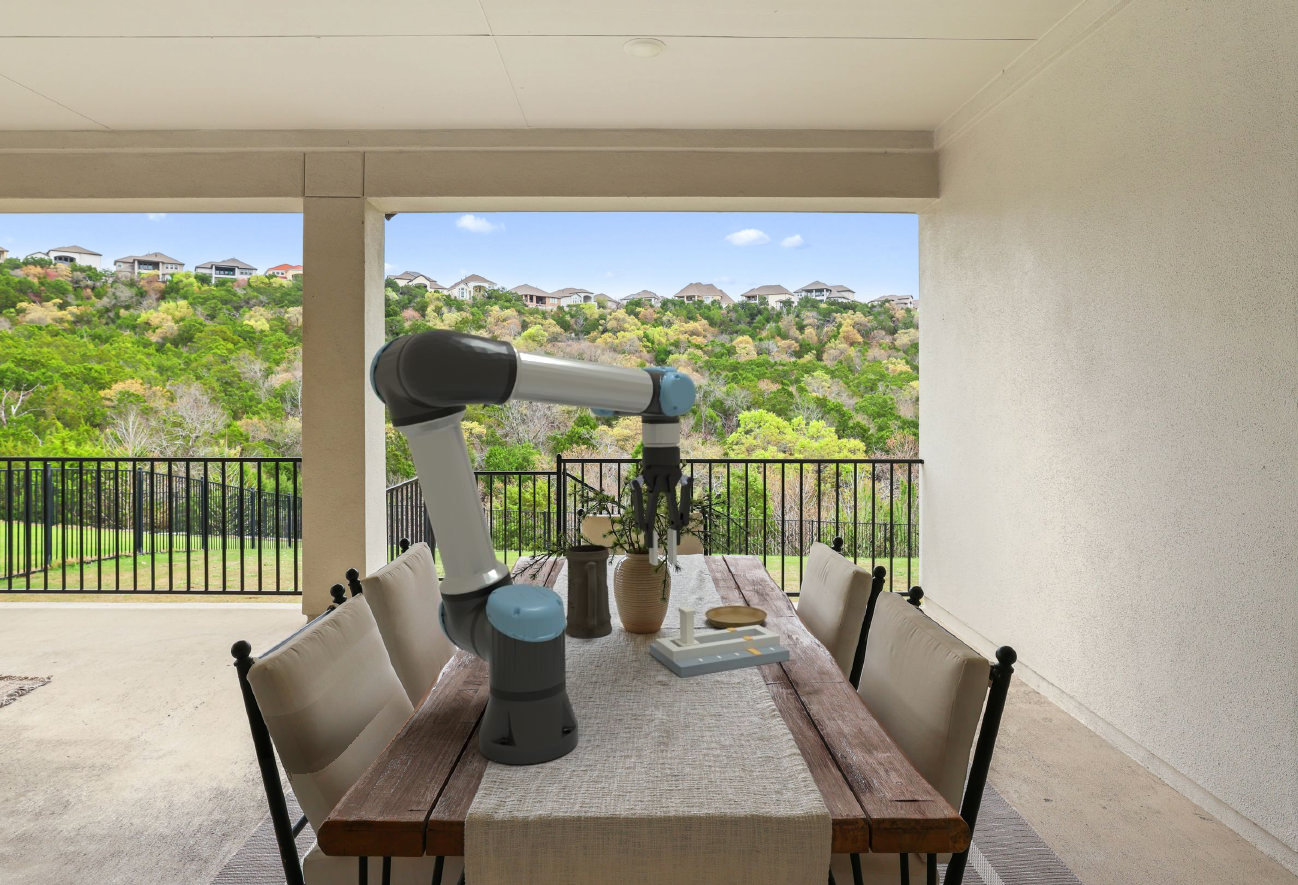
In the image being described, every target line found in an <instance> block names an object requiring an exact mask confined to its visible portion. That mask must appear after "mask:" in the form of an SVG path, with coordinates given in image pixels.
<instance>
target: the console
mask: <svg viewBox="0 0 1298 885" xmlns="http://www.w3.org/2000/svg"><path fill="white" fill-rule="evenodd" d="M674 640H680V635H675V636H669V637H661V638H656V639H655V642H654V643H649V654H650V655H651V656H653V657H654V658H655V659H657V660H658V661H659V662H660V663H662V664H663V665H664V666H666V667H667V669H670V671H672V672H673V673H674V674H676V675H677V676H679V677H680V678H682V679H683V678H688V677H694V676H701V675H706V674H712V673H718V672H719V673H720V672H724V671H729V670H731V671H732V670H738V669H744V668H751V667H755V666H762V665H769V664H773V663H781V662H785V661H790V658H791V657H790V656H791V655H790V654H791V653H790V650H789V649H787V648H786V647H784V646H782V645H781V636H780V635H779V634H777V633H775V632H774V631H771V630H769V629H767V628H765V627H763V626H761V624H760V625H754V626H746V627H739V628H727V629H720V630H711V631H705V632H698V633H694V640H696V641H698V642H699V643H700V644H697V645H690V646H684V647H678V646H676V645H675V644H674Z"/></svg>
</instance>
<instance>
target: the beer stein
mask: <svg viewBox="0 0 1298 885" xmlns="http://www.w3.org/2000/svg"><path fill="white" fill-rule="evenodd" d="M609 558H610V553H609V548H608V546H605V545H604V544H603V545H601V544H579V545H573V546H570V547H568V548H566V553H565V559H566V560H567V604H566V605H567V606H566V607H567V610H566V613H567V614H566V616H565V618H566V625H565V635H568V636H569V637H571V638H576V639H577V638H578V639H595V638H602V637H605V636H609V634H611V633H612V632H613V626H612V623H611V621H612V620H611V619H612V615H611V612H610V600H609V599H610V598H609V597H610V596H609V587H608V560H609Z"/></svg>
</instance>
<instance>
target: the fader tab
mask: <svg viewBox="0 0 1298 885" xmlns="http://www.w3.org/2000/svg"><path fill="white" fill-rule="evenodd" d="M678 613H679V629H680V631H679V633H680V634H679V636H680V640H674V644H675V645H676V646H678V647H684V646H690V645H697V644H700V643H699V642H698V641H696V640H694V634H695V615H696V610H695V609H693V608H691V607H689V606H681V607H678Z"/></svg>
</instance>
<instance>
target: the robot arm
mask: <svg viewBox="0 0 1298 885" xmlns="http://www.w3.org/2000/svg"><path fill="white" fill-rule="evenodd" d="M369 382H370V386H371V388H372V391H373V393H374V394H375V396H376V397H377V398H378V399H379V401H381V402H382V404H384V405H385V406H387V410H388V415H389V417H390V420H391V425H392V428H393V429H394V430H396V431H397V432H399V433H401V434H403V435H404V436H405V438H406V439H407V443H408V447H409V450H410V454H411V457H412V461H413V465H414V468H415V472H416V476H417V479H418V482H419V486H420V489H421V492H422V493H421V494H422V497H423V501H424V504H425V507H426V508H425V509H426V511H427V514H428V518H429V521H430V525H431V529H432V533H433V536H434V539H435V543H436V546H437V550H438V553H439V558H440V560H441V564H442V568H443V571H444V577H443V579H442V580H441V582H440V584H439V589H438V590H439V591H440V592H439V593H440V596H441V602H440V603H439V607H438V623H439V625H440V629H441V631H442V632H443V634H444V636H445V637H446V638H447V639H448V640H449V642H451V643H452V644H453V645H454V646H456V647H457V648H458V649H460V650H461V651H465V652H467V653H469V654H471V655H473V656H475V657H477V658H478V659H481V660H483V661H484V662H487V663H488V674H489V675H488V677H489V679H488V681H489V698H488V700H487V705H486V708H485V712H484V715H483V718H482V722H481V725H480V728H479V734H478V742H479V743H478V744H479V746H478V747H479V748H478V749H479V751H480V753H481V755H483V757H486V758H487V759H489V760H491V761H493V760H496V761H495V762H498V763H502V764H509V765H531V764H538V763H544V762H549V761H551V760H555V759H557V758H560V757H563V756H565V755H566V754H568V753H569V752H571V751H572V750H573V749H574V748H576V746H577V745H578V743H579V737H580V736H579V724H578V720H577V717H576V714H575V711H574V709H573V706H572V704H571V700H570V697H569V695H568V690H567V672H566V670H567V668H566V667H567V665H566V663H567V662H566V626H567V620H566V614H565V607H564V606H565V605H564V601H563V598H562V597H561V595H559V593H557V592H556V591H555V590H553V589H551V588H548V587H546V586H544V585H543V586H542V585H532V584H529V583H525V584H524V583H520V584H519V583H517V584H514V583H513V580H512V575H511V573H510V569H509V566H508V565H507V564H506V563H503V562H501V561H500V560H498V559H497V555H496V552H495V548H494V543H493V541H492V537H491V534H490V530H489V525H488V522H487V518H486V514H485V510H484V507H483V503H482V498H481V494H480V492H479V488H478V483H477V480H476V476H475V473H474V470H473V465H472V462H471V458H470V454H469V451H468V446H467V443H466V439H465V435H464V432H463V428H462V424H461V422H462V420H463V418H464V416H465V414H466V413H467V410H468V409H467V406H468V405H496V406H503V405H506V404H507V403H509V401H510V400H512V401H522V402H529V403H531V402H532V403H541V404H549V405H550V404H551V405H559V406H567V407H568V406H569V407H576V408H578V407H579V408H589V409H590V411H591V412H592V414H594V415H595V416H598V417H606V418H613V417H640V418H641V442H642V444H643V445H644V446H643V447H642V449H641V456H642V458H641V460H642V469H641V472H640V475H639V476H637V477H635V478H634V479H632V478H630V479H629V480H628V484H629V488H630V489H631V492H632V504H633V516H634V526H635V528H636V529H638V530H641V531H643V532H644V547H645V548H647V549H648V557H649V559H648V561H649V564H651V565H652V566H659V553H658V552H659V546H658V545H659V544H658V538H659V536H658V531H656V530H655V524H656V523H655V522H656V516H657V508H658V500H659V498H660V496H661V495H660V494H661V493H664V496H665V500H666V505H667V507H666V508H667V511H668V517H669V522H670V528H667V530H666V532H667V561H668V562H669V563H671V564H674V565H675V564H678V562H677V561H678V557H677V556H678V554H677V548H678V547H677V546H680V545H681V531H682V530H683V528H684V527H688V526H689V525H690V517H691V515H690V514H691V496H692V494H691V493H692V487H693V485H694V482H695V479H694V477H693V476H689V475H686V474H683V471H682V470H681V447H680V446H679V445H678V444H680V442H681V432H680V430H681V429H680V428H681V427H680V416H682V415H685V414H687V413H689V412H690V411H691V409H692V408H693V407H694V405H695V402H696V396H697V391H696V390H697V389H696V386H695V383H694V381H693V380H692V378H691V377H690V375H688V374H686V373H684V372H682V371H681V372H679V371H678V369H676V368H675V367H673V366H646V367H645V366H644V367H643V368H642V369H640V368H634V367H628V366H622V365H621V366H620V365H616V364H615V365H614V364H610V363H609V364H608V363H602V362H596V361H590V360H583V359H577V358H572V357H571V358H569V357H566V356H565V357H564V356H559V355H558V356H557V355H551V354H546V353H539V352H531V351H526V350H519V349H516V347H515V346H514V344H513V343H511V341H508V340H507V341H506V340H500V339H495V338H489V337H485V336H481V335H477V334H473V333H467V332H463V331H457V330H453V329H446V328H434V329H426V330H424V331H420V332H415V333H410V334H403V335H401V336H397V337H395V338H393V339H392V340H389V341H387V343H385V344H384V345H382V346H381V347H380V348H379V349H378V351H377V352H376V353H375V355H374V357H373V358H372V361H371V364H370V368H369ZM643 483H644V484H645V486H646V487H647V494H646V495H647V498H646V499H647V500H646V501H647V502H646V506H645V507H646V508H645V509H644V496H643V490H642V488H643ZM679 483H680V490H679V506H678V500H677V495H678V494H677V488H676V486H677V485H678V484H679Z"/></svg>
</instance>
